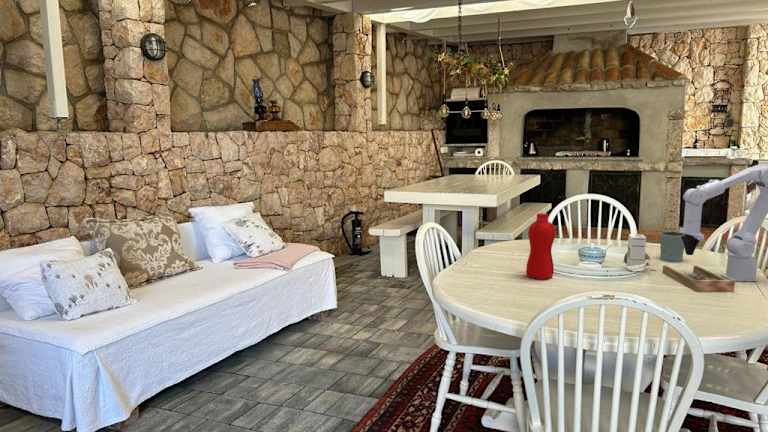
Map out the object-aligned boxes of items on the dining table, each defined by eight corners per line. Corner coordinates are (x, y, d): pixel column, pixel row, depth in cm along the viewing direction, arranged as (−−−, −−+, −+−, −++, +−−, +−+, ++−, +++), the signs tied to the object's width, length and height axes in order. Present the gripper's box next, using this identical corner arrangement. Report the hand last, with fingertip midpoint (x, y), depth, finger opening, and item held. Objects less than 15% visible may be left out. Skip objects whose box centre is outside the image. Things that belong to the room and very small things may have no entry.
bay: (696, 272, 226) (696, 263, 226) (733, 291, 202) (735, 281, 201) (662, 272, 226) (663, 263, 226) (696, 291, 202) (697, 280, 201)
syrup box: (644, 272, 227) (647, 236, 225) (628, 271, 228) (631, 236, 226) (640, 268, 233) (643, 234, 230) (625, 267, 234) (628, 233, 231)
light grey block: (623, 271, 242) (624, 256, 238) (623, 256, 250) (625, 242, 246) (648, 273, 239) (650, 259, 234) (648, 258, 246) (650, 244, 242)
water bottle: (558, 275, 222) (561, 212, 218) (544, 281, 214) (548, 216, 210) (536, 271, 228) (539, 210, 224) (522, 276, 220) (525, 213, 216)
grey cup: (685, 259, 249) (687, 232, 247) (682, 264, 240) (685, 236, 238) (659, 256, 254) (662, 230, 252) (656, 261, 246) (659, 233, 243)
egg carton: (718, 290, 204) (719, 279, 203) (696, 290, 204) (697, 279, 204) (703, 282, 214) (704, 271, 214) (682, 281, 215) (683, 271, 214)
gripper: (672, 216, 224) (669, 250, 226) (691, 223, 210) (688, 259, 212) (690, 216, 224) (687, 250, 226) (711, 223, 210) (707, 259, 212)
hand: (689, 254), depth 219 cm, fingers closed
